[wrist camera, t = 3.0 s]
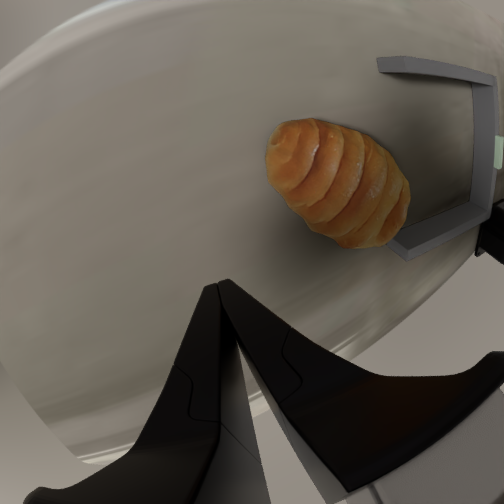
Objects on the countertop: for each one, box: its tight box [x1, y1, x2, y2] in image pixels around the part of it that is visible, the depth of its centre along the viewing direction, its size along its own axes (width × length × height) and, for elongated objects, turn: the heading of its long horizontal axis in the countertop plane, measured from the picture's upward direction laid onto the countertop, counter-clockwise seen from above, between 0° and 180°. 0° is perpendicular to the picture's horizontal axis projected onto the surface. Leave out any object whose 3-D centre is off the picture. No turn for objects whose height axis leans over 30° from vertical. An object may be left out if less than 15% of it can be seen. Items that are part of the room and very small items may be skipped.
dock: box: [377, 56, 504, 262], centre depth 16 cm, size 13×14×3 cm
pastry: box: [265, 118, 411, 249], centre depth 14 cm, size 9×7×4 cm
